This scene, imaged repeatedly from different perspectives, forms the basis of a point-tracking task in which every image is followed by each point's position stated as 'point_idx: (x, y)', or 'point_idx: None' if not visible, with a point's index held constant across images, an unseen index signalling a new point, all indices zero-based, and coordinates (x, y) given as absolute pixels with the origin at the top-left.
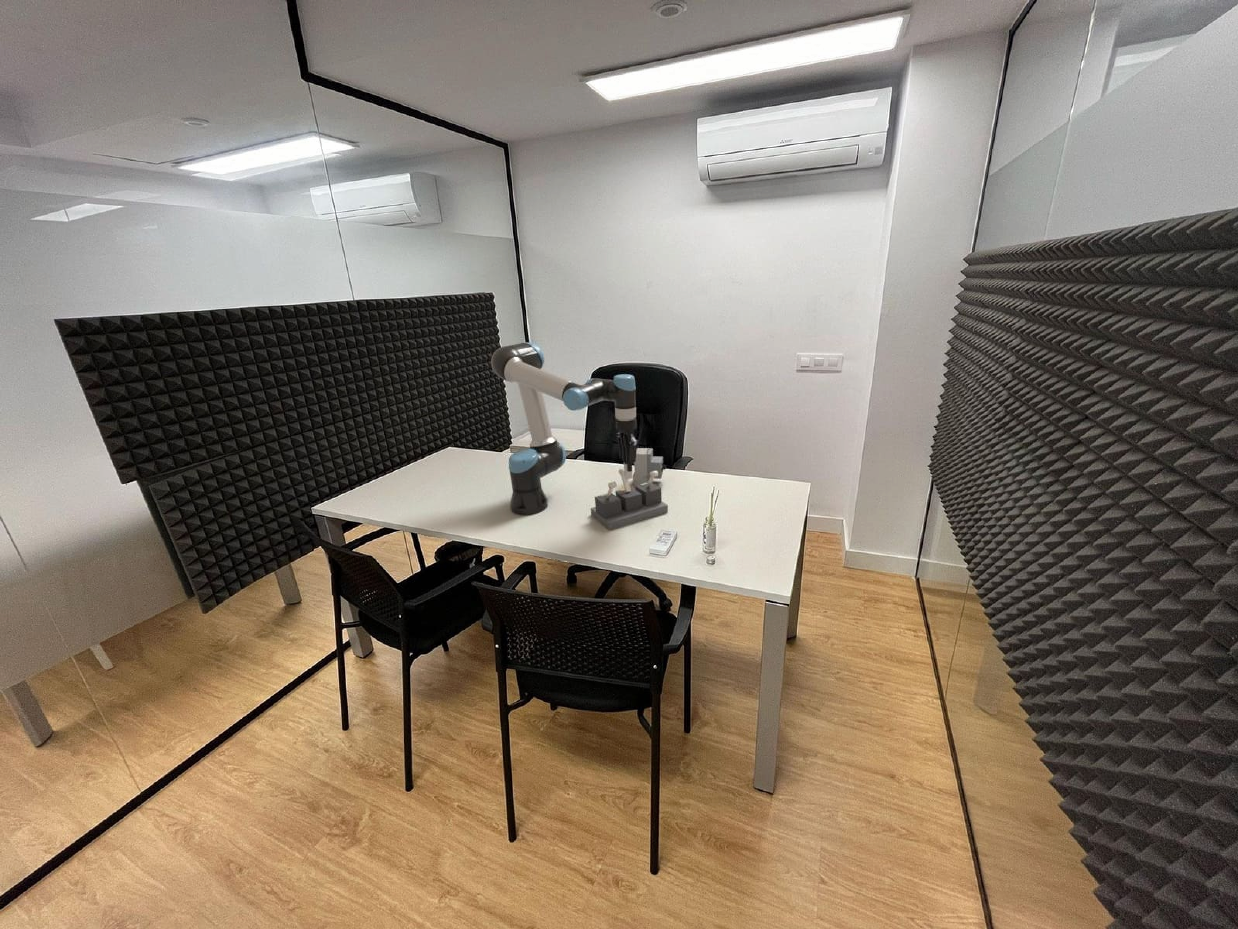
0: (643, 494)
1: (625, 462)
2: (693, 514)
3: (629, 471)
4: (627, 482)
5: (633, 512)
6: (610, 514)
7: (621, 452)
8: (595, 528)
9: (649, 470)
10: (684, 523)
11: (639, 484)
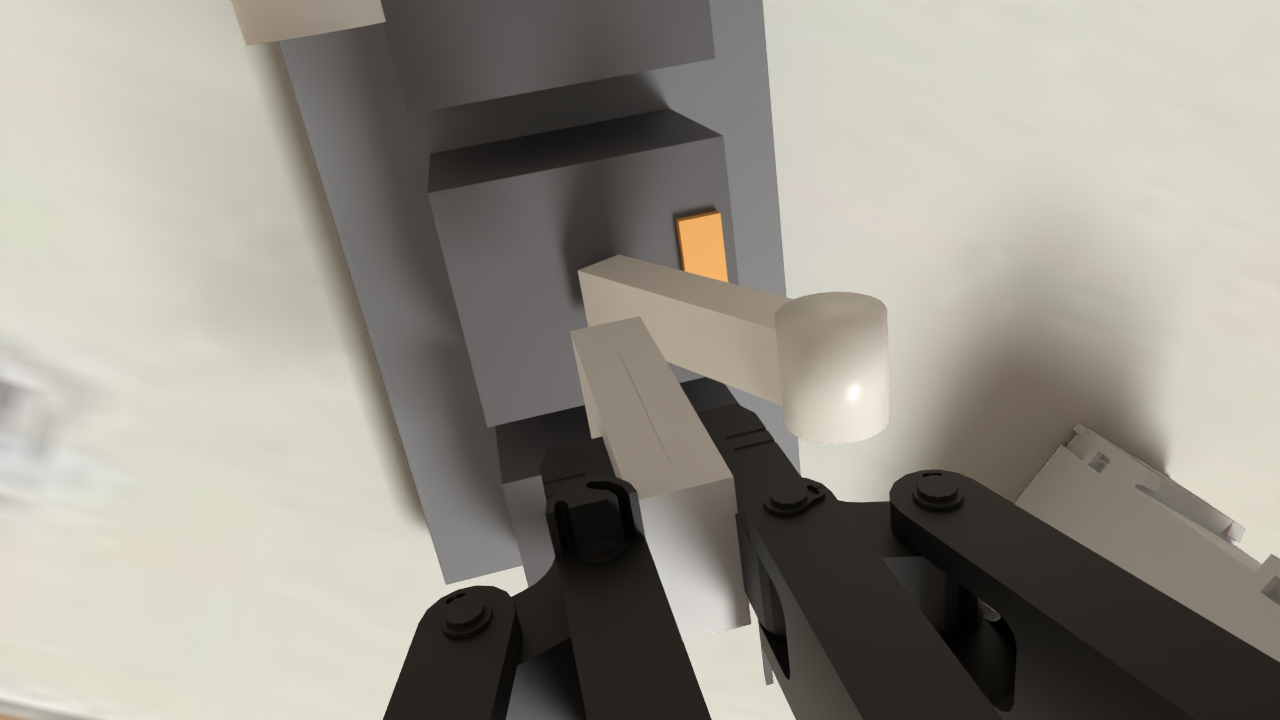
0: (559, 445)
1: (606, 520)
2: (322, 704)
3: (549, 466)
4: (664, 340)
5: (408, 231)
6: None
7: (1015, 615)
8: None
9: None
10: (173, 603)
11: (1049, 476)
